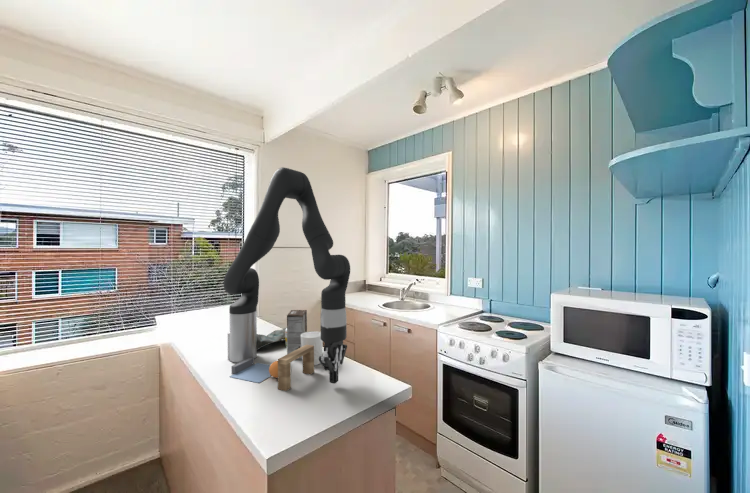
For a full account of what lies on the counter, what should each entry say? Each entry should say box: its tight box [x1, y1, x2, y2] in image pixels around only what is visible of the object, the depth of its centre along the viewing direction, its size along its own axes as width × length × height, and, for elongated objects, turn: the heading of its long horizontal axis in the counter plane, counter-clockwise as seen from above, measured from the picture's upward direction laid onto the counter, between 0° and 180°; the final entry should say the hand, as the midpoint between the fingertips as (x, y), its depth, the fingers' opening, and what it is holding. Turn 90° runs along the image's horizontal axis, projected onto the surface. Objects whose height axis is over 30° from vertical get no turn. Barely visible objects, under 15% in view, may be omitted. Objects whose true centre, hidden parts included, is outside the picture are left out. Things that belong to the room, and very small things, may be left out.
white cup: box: [301, 330, 324, 366], centre depth 108 cm, size 8×8×10 cm
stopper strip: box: [231, 358, 255, 375], centre depth 102 cm, size 2×8×2 cm, turn 158°
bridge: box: [277, 345, 315, 392], centre depth 93 cm, size 3×14×9 cm, turn 158°
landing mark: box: [229, 362, 272, 384], centre depth 99 cm, size 12×12×1 cm
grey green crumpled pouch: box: [257, 326, 287, 351], centre depth 129 cm, size 13×7×25 cm
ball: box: [269, 360, 278, 379], centre depth 96 cm, size 5×5×5 cm
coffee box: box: [286, 309, 308, 359], centre depth 116 cm, size 9×6×16 cm
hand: (333, 382), depth 88 cm, fingers closed
